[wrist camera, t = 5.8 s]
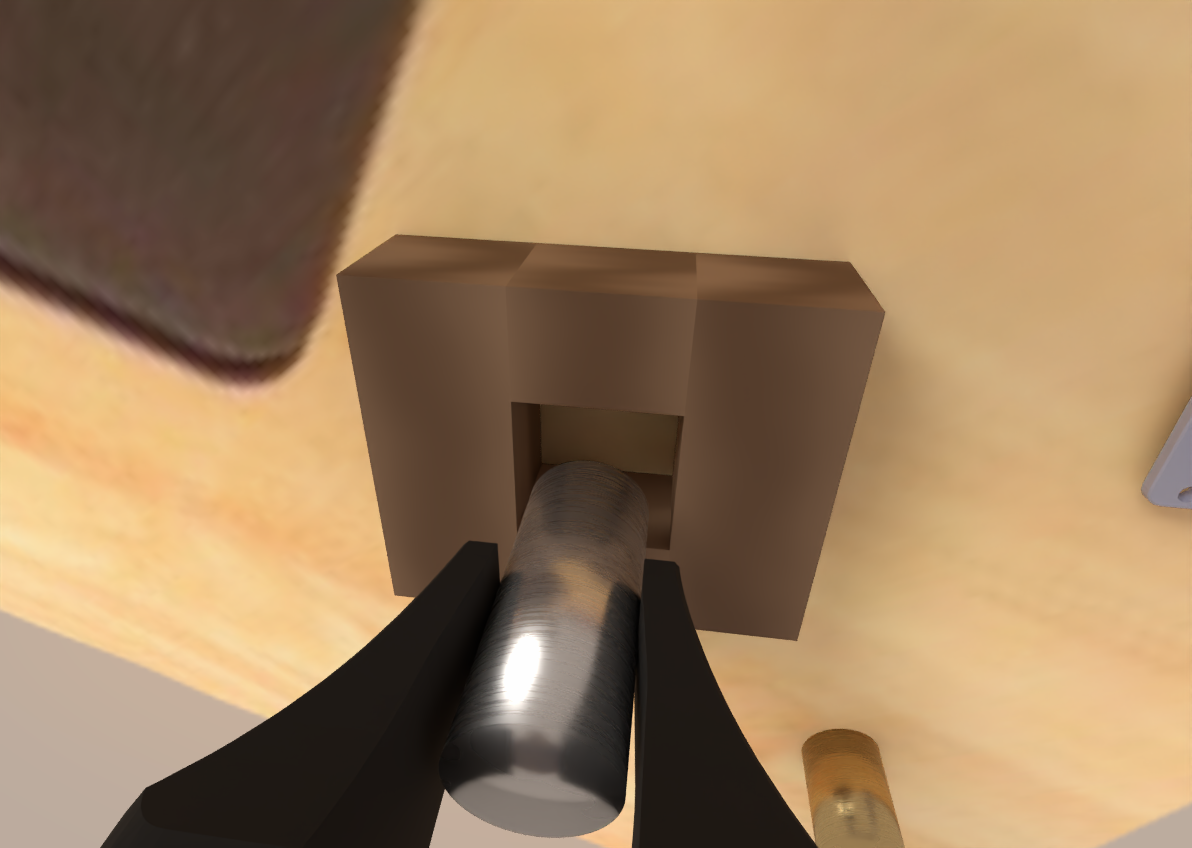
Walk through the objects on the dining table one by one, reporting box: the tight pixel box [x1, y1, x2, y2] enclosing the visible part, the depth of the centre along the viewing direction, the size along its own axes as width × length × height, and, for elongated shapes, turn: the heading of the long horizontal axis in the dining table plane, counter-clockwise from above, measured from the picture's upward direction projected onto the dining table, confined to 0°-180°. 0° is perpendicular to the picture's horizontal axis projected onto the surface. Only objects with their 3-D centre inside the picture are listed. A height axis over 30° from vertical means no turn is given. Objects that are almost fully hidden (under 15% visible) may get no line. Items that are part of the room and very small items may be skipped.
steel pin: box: [438, 461, 649, 838], centre depth 13 cm, size 3×3×7 cm
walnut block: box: [336, 235, 885, 641], centre depth 18 cm, size 12×10×4 cm
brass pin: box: [802, 729, 905, 848], centre depth 25 cm, size 3×3×4 cm
